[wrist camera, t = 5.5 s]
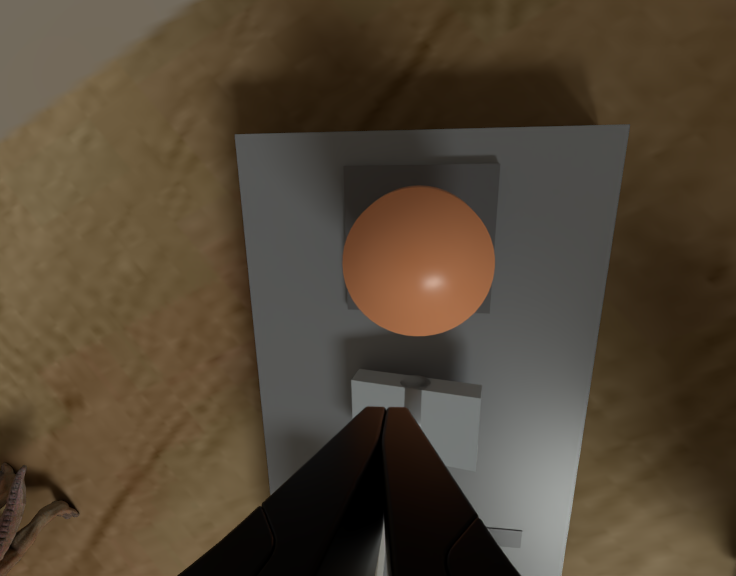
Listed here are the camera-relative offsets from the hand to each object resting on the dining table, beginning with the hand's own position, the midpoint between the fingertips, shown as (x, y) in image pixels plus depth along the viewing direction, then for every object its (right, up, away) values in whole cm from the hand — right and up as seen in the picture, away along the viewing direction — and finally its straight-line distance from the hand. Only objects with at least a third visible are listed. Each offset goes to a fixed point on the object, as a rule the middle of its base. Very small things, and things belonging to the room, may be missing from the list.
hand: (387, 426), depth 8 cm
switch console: (+2, -1, +12) cm, 12 cm away
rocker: (+1, -2, +9) cm, 9 cm away
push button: (+1, +4, +6) cm, 8 cm away
